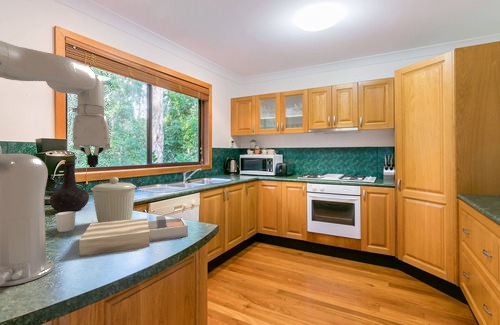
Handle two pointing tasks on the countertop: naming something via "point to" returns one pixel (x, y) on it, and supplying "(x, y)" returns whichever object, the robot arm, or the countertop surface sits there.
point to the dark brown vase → (69, 192)
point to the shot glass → (65, 221)
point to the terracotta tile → (174, 224)
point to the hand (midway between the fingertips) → (92, 166)
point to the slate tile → (160, 222)
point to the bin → (167, 230)
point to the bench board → (114, 236)
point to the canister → (113, 200)
